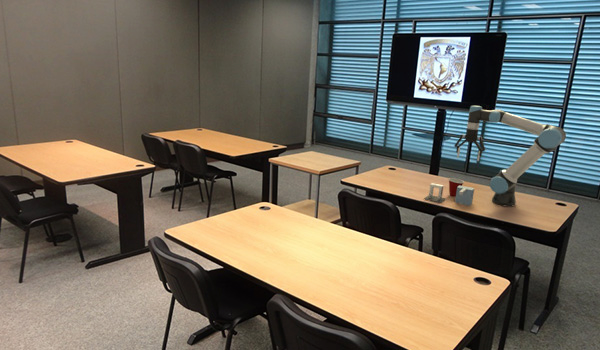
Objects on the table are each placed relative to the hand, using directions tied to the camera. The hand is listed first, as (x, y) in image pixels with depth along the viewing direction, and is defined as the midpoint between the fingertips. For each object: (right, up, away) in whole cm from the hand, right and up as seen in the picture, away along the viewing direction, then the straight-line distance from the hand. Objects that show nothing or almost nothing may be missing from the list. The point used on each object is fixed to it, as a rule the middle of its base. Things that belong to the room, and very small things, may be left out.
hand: (467, 158), depth 301 cm
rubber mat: (-23, -28, +1) cm, 36 cm away
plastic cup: (-5, -26, +12) cm, 30 cm away
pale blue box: (-23, -28, +1) cm, 36 cm away
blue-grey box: (-7, -31, -7) cm, 33 cm away
